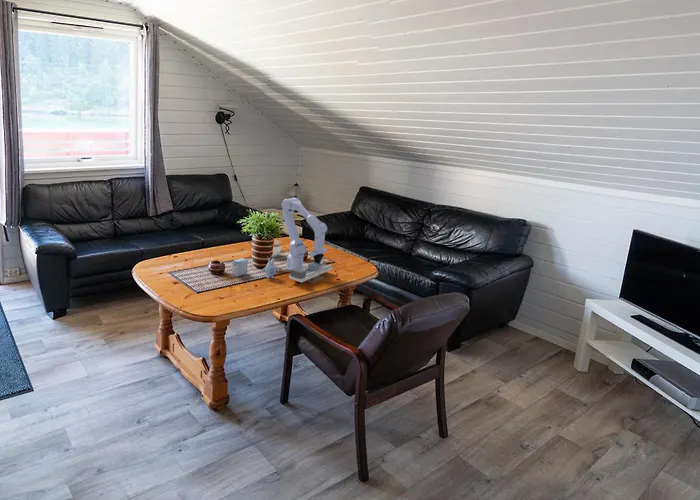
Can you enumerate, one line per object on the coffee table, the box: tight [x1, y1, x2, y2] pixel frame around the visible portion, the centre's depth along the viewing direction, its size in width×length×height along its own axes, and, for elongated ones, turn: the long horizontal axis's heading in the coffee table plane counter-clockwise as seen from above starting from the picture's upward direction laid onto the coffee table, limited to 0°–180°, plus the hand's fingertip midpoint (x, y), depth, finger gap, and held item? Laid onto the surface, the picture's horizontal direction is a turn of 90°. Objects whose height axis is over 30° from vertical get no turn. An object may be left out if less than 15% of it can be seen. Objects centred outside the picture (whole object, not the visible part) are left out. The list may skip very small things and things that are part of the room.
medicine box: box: [231, 257, 249, 277], centre depth 296 cm, size 8×4×9 cm, turn 146°
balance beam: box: [288, 261, 333, 284], centre depth 302 cm, size 11×32×8 cm, turn 150°
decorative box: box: [271, 239, 282, 258], centre depth 335 cm, size 13×13×11 cm
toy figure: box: [261, 257, 280, 279], centre depth 295 cm, size 11×6×12 cm, turn 116°
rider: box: [307, 261, 319, 272], centre depth 303 cm, size 4×5×4 cm
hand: (317, 265), depth 306 cm, fingers closed
